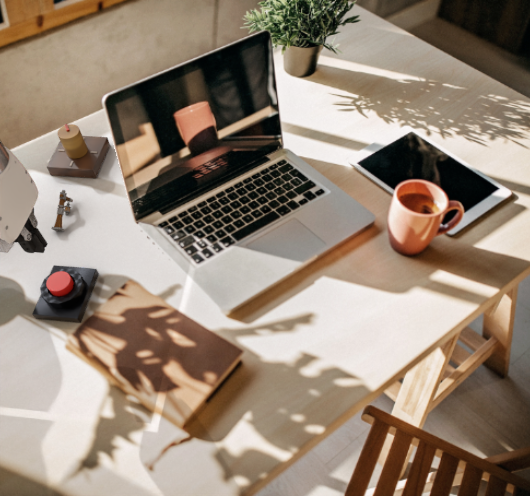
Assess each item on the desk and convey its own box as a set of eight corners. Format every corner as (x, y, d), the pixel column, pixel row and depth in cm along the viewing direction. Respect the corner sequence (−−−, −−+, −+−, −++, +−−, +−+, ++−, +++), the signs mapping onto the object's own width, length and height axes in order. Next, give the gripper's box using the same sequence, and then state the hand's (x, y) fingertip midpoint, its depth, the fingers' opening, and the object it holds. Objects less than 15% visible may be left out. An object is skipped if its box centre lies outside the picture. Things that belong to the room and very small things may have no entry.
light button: (46, 295, 83) (42, 290, 82) (55, 275, 85) (51, 270, 84) (69, 297, 83) (65, 292, 81) (77, 277, 85) (73, 272, 84)
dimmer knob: (90, 154, 104) (80, 133, 99) (69, 161, 103) (59, 140, 98) (85, 141, 106) (76, 120, 101) (65, 148, 105) (54, 127, 100)
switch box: (35, 319, 84) (27, 309, 81) (57, 270, 90) (49, 259, 87) (81, 323, 83) (73, 313, 81) (99, 273, 89) (93, 262, 86)
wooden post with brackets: (76, 195, 99) (66, 188, 95) (70, 234, 98) (59, 229, 93) (68, 195, 99) (57, 188, 95) (61, 234, 98) (50, 228, 93)
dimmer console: (50, 175, 104) (46, 166, 102) (67, 143, 110) (63, 133, 108) (96, 178, 103) (92, 169, 101) (110, 145, 109) (107, 136, 107)
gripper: (-27, 118, 65) (32, 209, 80) (-87, 204, 56) (-8, 288, 71) (27, 120, 64) (76, 212, 79) (-25, 208, 55) (41, 292, 70)
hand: (36, 248), depth 75 cm, fingers closed
